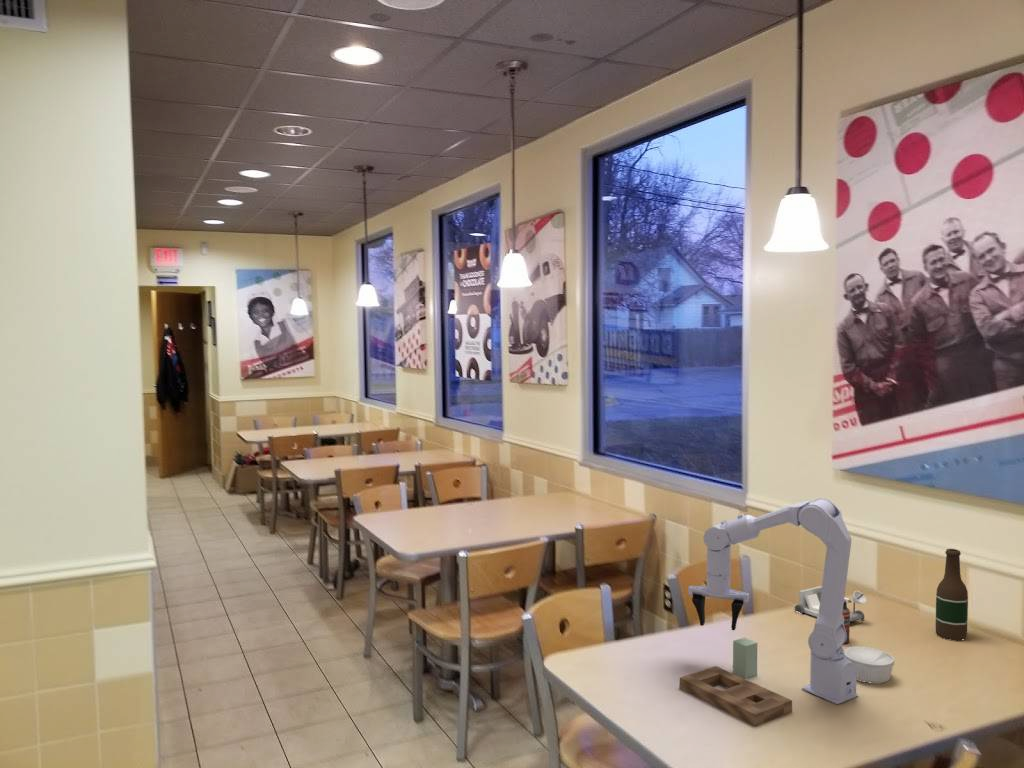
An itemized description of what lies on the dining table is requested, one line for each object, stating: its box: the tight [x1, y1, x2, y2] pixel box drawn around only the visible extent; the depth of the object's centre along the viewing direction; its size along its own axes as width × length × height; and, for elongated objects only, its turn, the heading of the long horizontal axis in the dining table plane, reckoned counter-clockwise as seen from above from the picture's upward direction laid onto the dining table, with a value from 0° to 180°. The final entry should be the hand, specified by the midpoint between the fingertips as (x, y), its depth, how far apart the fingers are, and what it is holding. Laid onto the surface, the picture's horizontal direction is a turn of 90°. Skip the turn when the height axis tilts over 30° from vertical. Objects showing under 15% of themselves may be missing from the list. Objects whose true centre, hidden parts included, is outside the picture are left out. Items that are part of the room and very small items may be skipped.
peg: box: [732, 637, 758, 680], centre depth 190 cm, size 4×4×8 cm
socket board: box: [679, 665, 793, 727], centre depth 176 cm, size 22×12×2 cm, turn 33°
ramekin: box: [843, 646, 895, 684], centre depth 189 cm, size 11×11×5 cm
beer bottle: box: [935, 548, 969, 641], centre depth 214 cm, size 8×8×24 cm
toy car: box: [794, 585, 867, 622], centre depth 229 cm, size 18×10×12 cm
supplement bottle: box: [842, 599, 851, 645], centre depth 211 cm, size 6×6×11 cm
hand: (717, 626), depth 195 cm, fingers open, 7 cm apart
